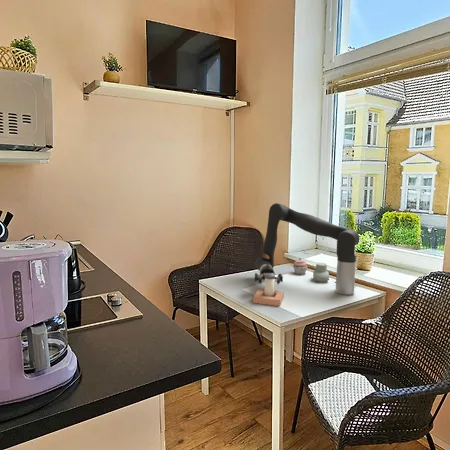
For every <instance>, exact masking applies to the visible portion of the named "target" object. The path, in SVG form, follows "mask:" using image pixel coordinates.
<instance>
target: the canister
mask: <svg viewBox="0 0 450 450" xmlns="http://www.w3.org/2000/svg"><path fill="white" fill-rule="evenodd" d="M264 289H265V291H264V296H269V297H274V290H275V274H273V273H266V274H265V281H264Z"/></svg>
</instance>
